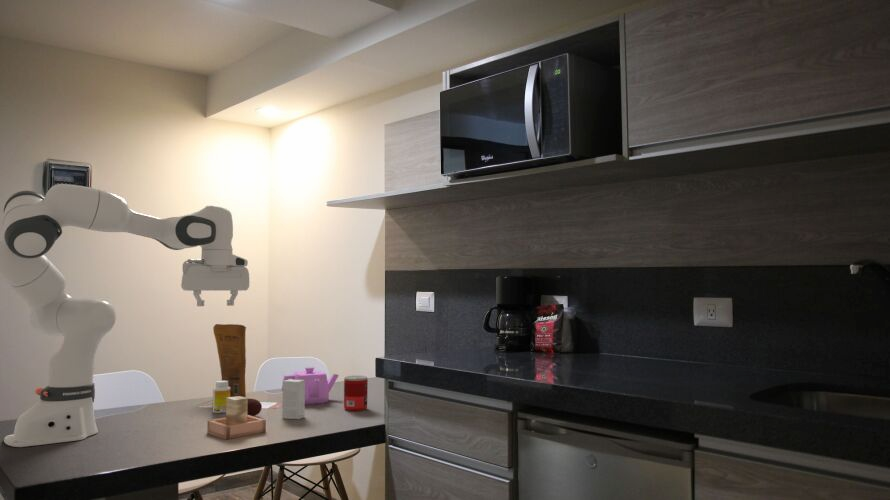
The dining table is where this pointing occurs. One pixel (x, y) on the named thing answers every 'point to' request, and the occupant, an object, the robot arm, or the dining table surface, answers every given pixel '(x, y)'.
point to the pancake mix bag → (232, 356)
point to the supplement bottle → (220, 396)
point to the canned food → (355, 393)
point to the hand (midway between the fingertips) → (215, 306)
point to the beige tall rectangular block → (236, 410)
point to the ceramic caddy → (236, 428)
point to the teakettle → (314, 384)
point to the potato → (253, 407)
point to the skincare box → (293, 399)
